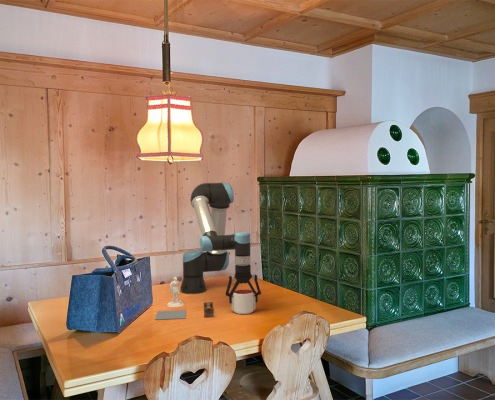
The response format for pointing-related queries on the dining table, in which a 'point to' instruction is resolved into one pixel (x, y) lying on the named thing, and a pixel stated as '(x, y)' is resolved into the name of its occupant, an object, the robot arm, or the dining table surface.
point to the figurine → (173, 290)
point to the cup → (243, 301)
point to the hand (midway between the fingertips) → (243, 309)
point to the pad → (171, 315)
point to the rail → (208, 309)
